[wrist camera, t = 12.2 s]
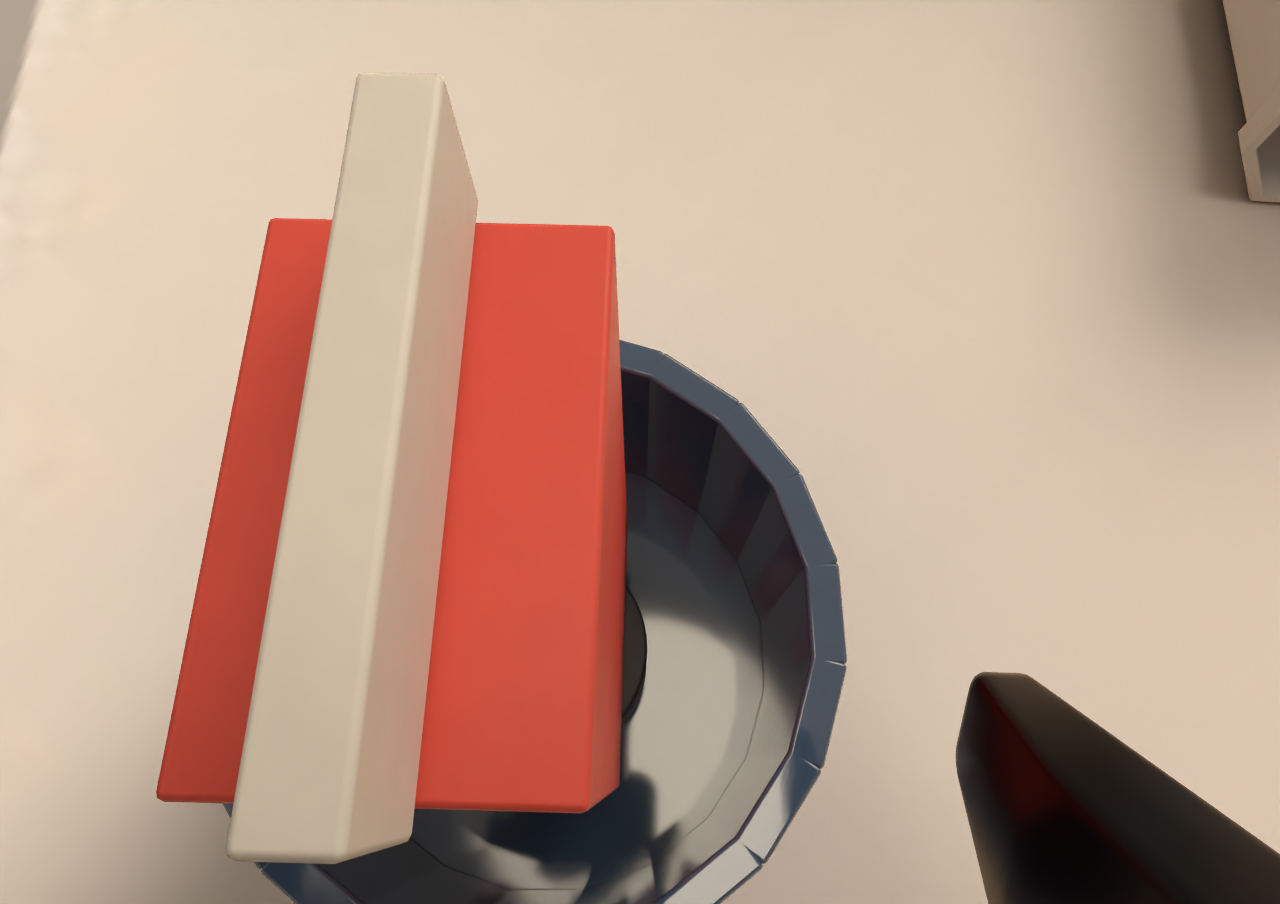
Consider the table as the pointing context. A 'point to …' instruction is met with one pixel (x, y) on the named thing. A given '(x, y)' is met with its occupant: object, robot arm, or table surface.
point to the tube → (1258, 91)
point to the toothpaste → (413, 516)
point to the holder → (666, 686)
